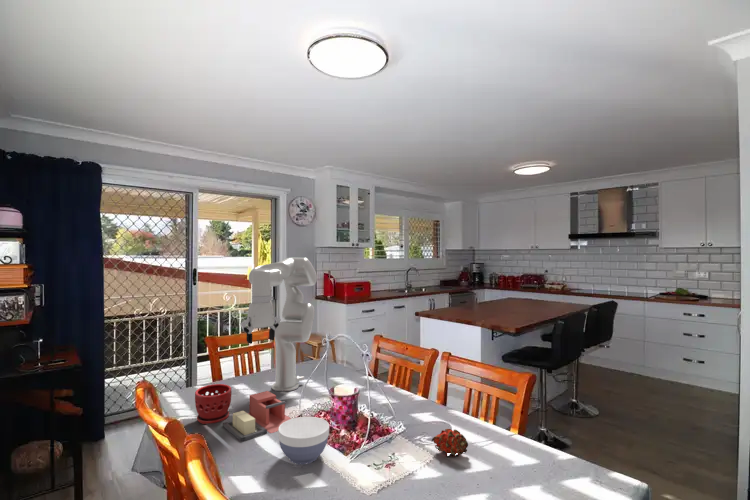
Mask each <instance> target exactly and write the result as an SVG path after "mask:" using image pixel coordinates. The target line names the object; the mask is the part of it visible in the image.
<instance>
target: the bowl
mask: <svg viewBox="0 0 750 500" xmlns="http://www.w3.org/2000/svg"><path fill="white" fill-rule="evenodd" d="M277 433H278V441H279V446H280V449H281V451H282V453H283V454H284V456H285V457H287V458H288V460H289V459H290V460H289V461H290V462H291V463H292V462H293V464H295V463H296V465H307V464H306V463H308V464H311V463H314V462H315V461H317V460H318V459H319V456H320V455H321V454H322V453H323V451H324V450H325V449H326V445H327V443H328V441H329V439H328V438H329V435H330V424H329V422H328V421H327V420H326V419H324V418H321V417H316V416H300V417H299V416H298V417H294V418H291V419H290V420H287V421H285V422H284V423H282V424H281V425H280V426H279V429H278V431H277ZM313 461H314V462H313Z"/></svg>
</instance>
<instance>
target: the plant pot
mask: <svg viewBox="0 0 750 500" xmlns="http://www.w3.org/2000/svg"><path fill="white" fill-rule="evenodd" d="M207 393H208V394H207ZM231 402H232V387H231V385H228V384H224V383H223V384H222V383H215V384H208V385H204V386H201V387H199V388H197V390H195V393H194V403H195V405H194V406H195V409H196V412H197V414H198V415H197V416H196V420H197V421H198V422H199V424H202V425H207V424H215V423H219V422H220V423H221V422H222V421H223V422H224V421H225V420H226V419H228V418H229V416H230V411H229V409H230V406H231Z"/></svg>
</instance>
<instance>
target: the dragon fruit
mask: <svg viewBox="0 0 750 500" xmlns="http://www.w3.org/2000/svg"><path fill="white" fill-rule="evenodd" d="M431 442H433V444H434V448H435V449H436V450H437V449H438V450H439V451H438V450H437V451H438V452H443V451H445V452H446V453H445V455H446V454H447V453H451V454H452V455H453V454H454V455H455V454H456V453H458V454H459V455H463V454H466V453H467V452H468V449H467V448H468V447H469V443H468V441H467V438H466V437H465V436H464V435H463V433H461V432H460V431H459V430H457V429H456V428H455V429H451V428H446V429H443V430H441V432H440V433H439V434H436V435H435V436H434V437H433V438H432V439H431ZM463 452H465V453H463ZM454 455H453V456H454Z"/></svg>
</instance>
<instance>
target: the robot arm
mask: <svg viewBox="0 0 750 500" xmlns="http://www.w3.org/2000/svg"><path fill="white" fill-rule="evenodd" d="M248 281H249V283H250V284H251V303H250V302H249V305H248V310H247V318H246V319H245V320H243V321H241V322H240V323H239V324H240V327H241V328H242V331H243V332H244V333H245V334H246V342H247V344H249V345H252V344H253V331H254V330H255V329H262V328H269V330H268V339H269V340H270V341H274V343H275V373H274V374H275V377H274V378H275V379H274V381H275V382H274V383H273V384H272V386H271V389H272V390H274V391H276V392H291V391H294V390H297V389H298V388H299V387H300V384H299V382H300V381H301V382H302V381H304V380H305V376H304V375H303V376H302V375H301V376H299V375H296V373H297V372H296V371H297V368H296V367H297V365H296V363H297V362H296V361H297V359H296V358H297V357H296V356H297V351H296V347H295V345H294V343H307V342H308V341H309V339H310V337H311V335H312V334H311V333H312V328H313V324H314V319H315V307H314V305H313V304H312V303H309V302H303V301H304V294H303V292H302V291H301V289H299V286H300V287H312V286H315V285H316V284H317V281H318V274H317V272H316V269H315V268H314V266H313V264H312V262H311V261H310V260H309V259H308V258H307V257H286V258H284V259H282V260H280V261H277V262H272V263H268V264H262V265H257V266H256V267H253V268H252V269H251V270H250V272H249V274H248ZM283 282H284V286H285V291H286V297H285V301H284V305H283V307H282V312H281V317H282V319H283V321H281V318H279V317H278V316H275V315H274V314H275V313H274V307H273V306H274V305H273V303H272V300H273V299H274V296H272V295H271V293H272V291H271V290H272V287H278V286H280V285H281V284H282V283H283ZM246 326H247V327H246Z"/></svg>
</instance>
